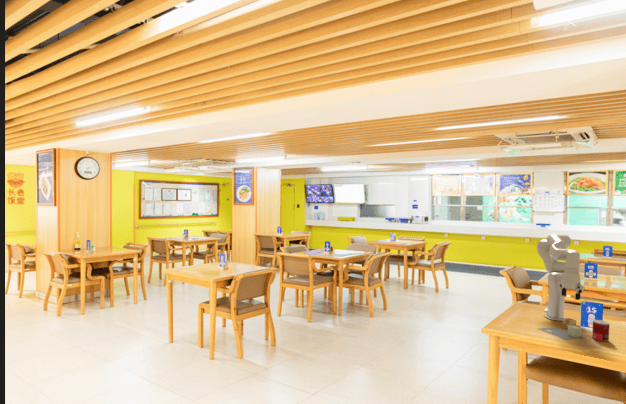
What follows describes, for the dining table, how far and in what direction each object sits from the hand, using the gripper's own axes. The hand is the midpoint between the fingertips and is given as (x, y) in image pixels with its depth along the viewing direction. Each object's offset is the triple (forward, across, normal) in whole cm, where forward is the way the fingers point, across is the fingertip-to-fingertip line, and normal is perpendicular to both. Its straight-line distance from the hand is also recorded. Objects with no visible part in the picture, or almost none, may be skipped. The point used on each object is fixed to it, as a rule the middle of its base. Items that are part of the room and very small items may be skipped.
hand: (570, 297), depth 257 cm
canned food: (+20, +21, -1) cm, 29 cm away
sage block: (+19, +12, -10) cm, 25 cm away
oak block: (+20, 0, 0) cm, 20 cm away
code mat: (+20, +7, -15) cm, 26 cm away
